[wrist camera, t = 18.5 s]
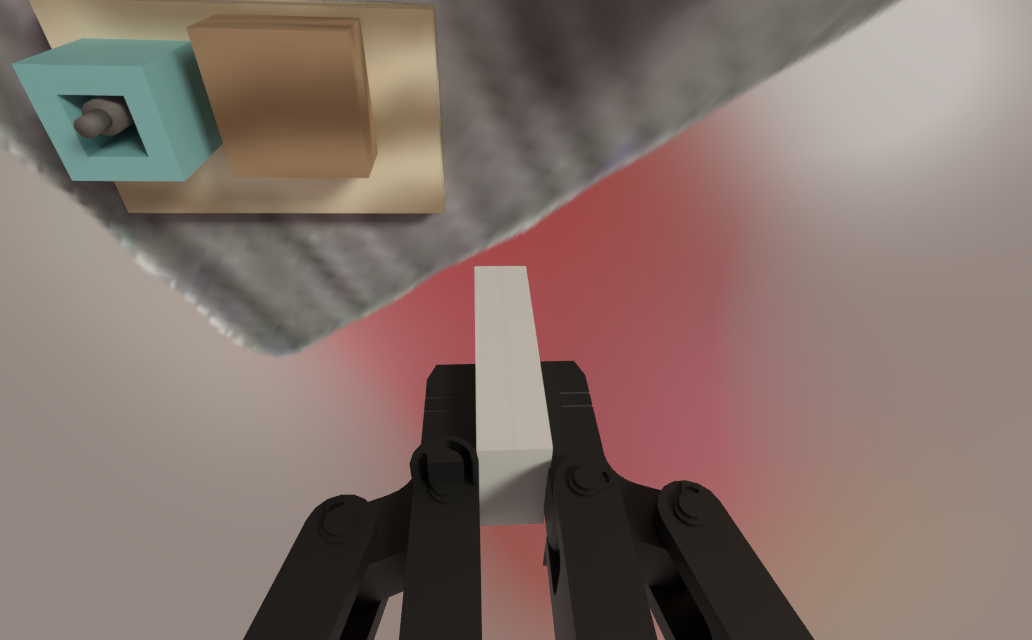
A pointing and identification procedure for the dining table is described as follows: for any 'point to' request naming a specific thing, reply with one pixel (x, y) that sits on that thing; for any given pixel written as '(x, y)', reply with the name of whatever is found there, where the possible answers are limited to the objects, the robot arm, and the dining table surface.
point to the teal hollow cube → (150, 98)
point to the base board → (212, 188)
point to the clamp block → (288, 94)
